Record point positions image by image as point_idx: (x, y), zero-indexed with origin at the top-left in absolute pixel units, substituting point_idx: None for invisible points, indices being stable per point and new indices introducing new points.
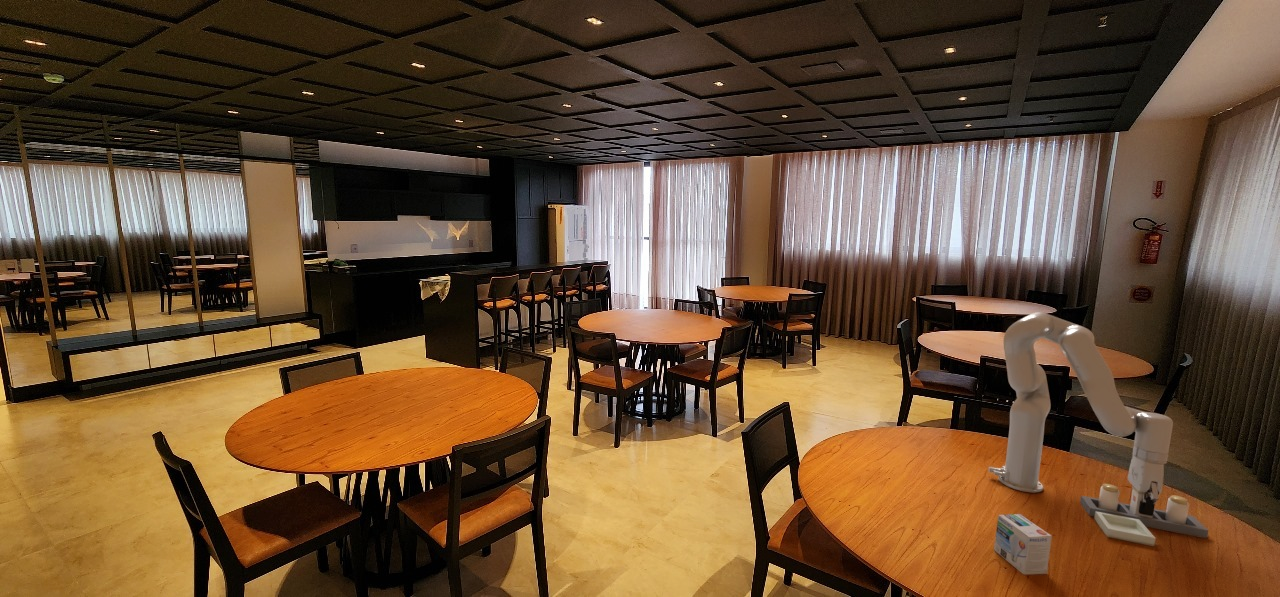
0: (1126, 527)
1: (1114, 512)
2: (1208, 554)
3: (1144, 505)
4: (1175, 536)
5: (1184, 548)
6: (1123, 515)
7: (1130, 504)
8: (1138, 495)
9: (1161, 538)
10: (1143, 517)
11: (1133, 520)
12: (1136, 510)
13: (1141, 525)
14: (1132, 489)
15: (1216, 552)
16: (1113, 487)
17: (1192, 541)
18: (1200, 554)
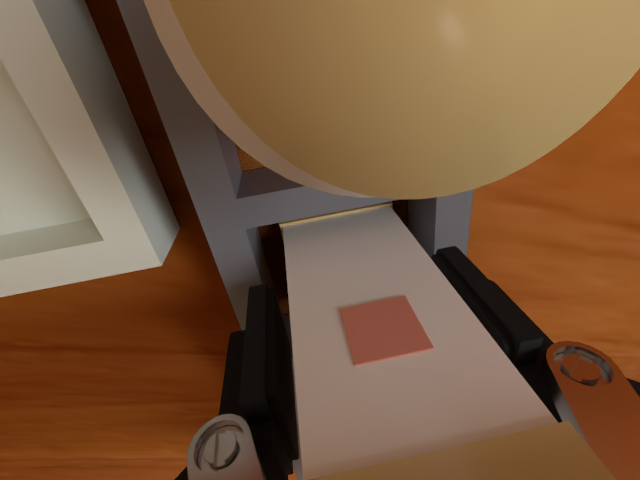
0: (38, 148)
1: (149, 66)
2: (106, 443)
3: (239, 386)
4: (214, 369)
5: (74, 390)
6: (178, 153)
7: (413, 243)
8: (300, 444)
9: (111, 321)
10: (243, 292)
11: (98, 222)
12: (289, 273)
13: (19, 268)
14: (591, 356)
15: (164, 457)
16: (403, 44)
17: (213, 411)
18: (68, 427)
